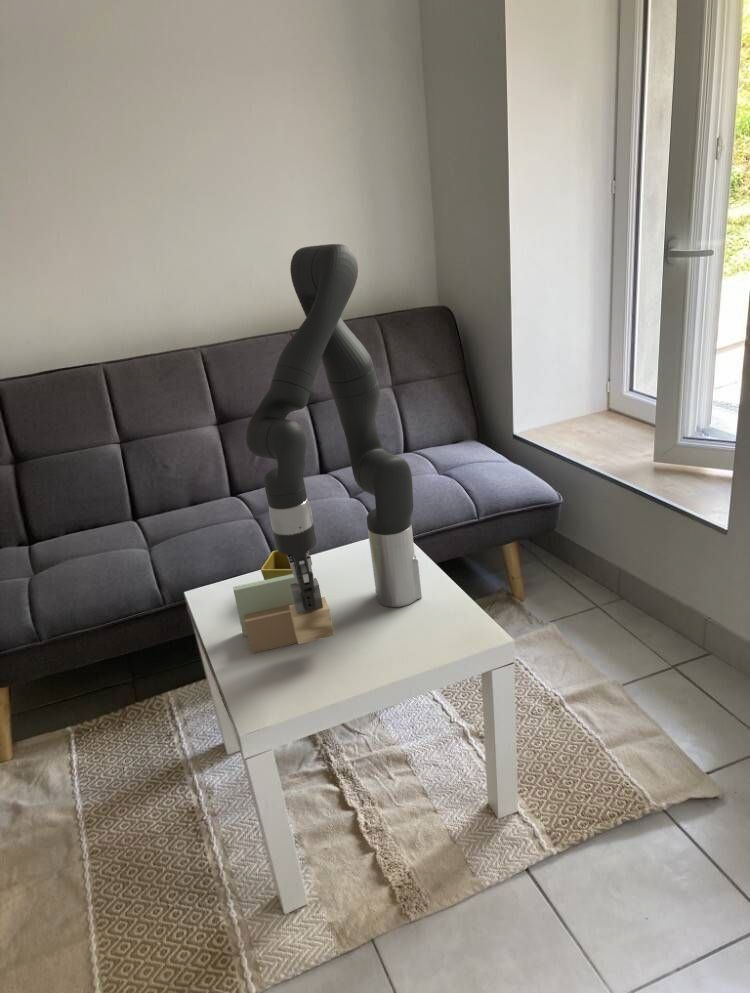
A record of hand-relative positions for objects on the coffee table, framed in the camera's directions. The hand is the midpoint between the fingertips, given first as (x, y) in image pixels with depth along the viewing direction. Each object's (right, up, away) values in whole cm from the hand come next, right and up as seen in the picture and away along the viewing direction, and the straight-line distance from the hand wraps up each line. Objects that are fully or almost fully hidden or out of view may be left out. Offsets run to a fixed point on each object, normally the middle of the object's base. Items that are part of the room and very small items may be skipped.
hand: (308, 603), depth 149 cm
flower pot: (-6, -2, +28) cm, 29 cm away
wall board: (-6, -8, +13) cm, 17 cm away
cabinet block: (+1, -6, +3) cm, 7 cm away
